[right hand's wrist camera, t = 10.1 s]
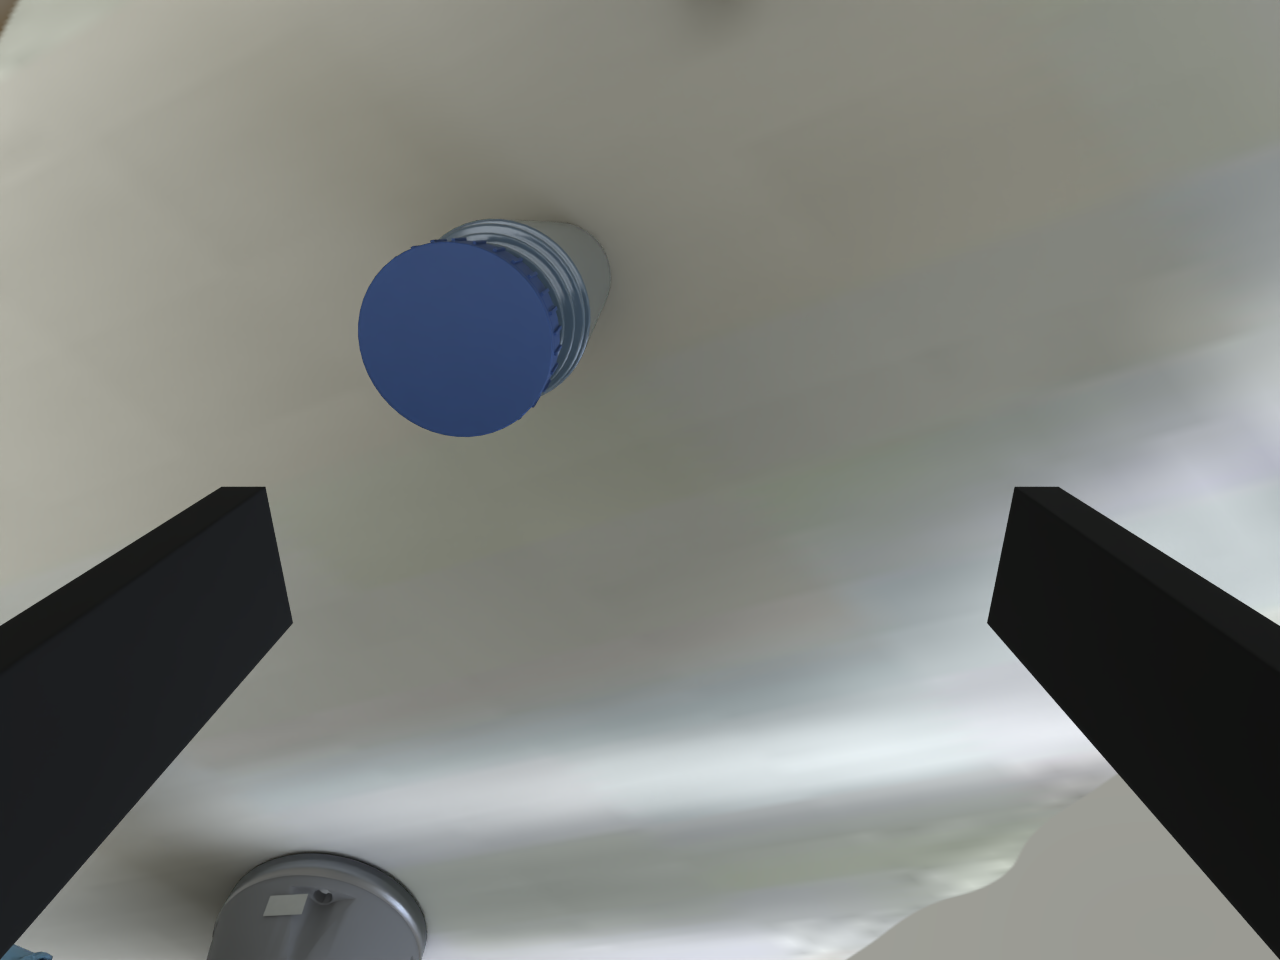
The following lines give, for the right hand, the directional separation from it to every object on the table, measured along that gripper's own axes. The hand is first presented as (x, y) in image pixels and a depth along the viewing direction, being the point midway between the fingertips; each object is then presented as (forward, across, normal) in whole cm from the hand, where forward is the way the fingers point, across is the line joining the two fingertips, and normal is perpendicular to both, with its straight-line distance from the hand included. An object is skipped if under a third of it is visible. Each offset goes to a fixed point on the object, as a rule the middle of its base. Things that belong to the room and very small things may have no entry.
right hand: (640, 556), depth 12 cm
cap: (+5, -4, +3) cm, 7 cm away
